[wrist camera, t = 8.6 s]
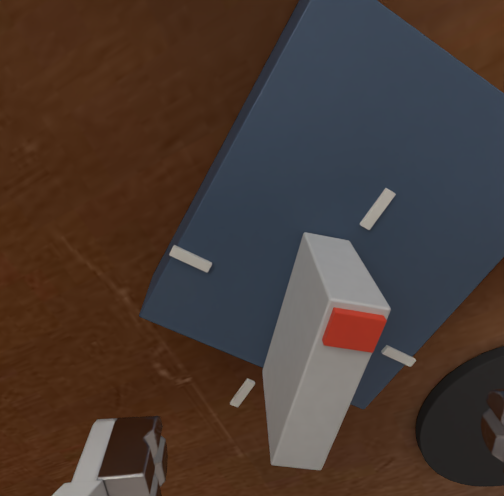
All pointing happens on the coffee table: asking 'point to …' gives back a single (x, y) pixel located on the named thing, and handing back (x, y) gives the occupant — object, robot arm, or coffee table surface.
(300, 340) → the tap handle
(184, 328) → the valve panel
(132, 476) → the robot arm
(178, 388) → the coffee table surface
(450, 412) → the coaster
